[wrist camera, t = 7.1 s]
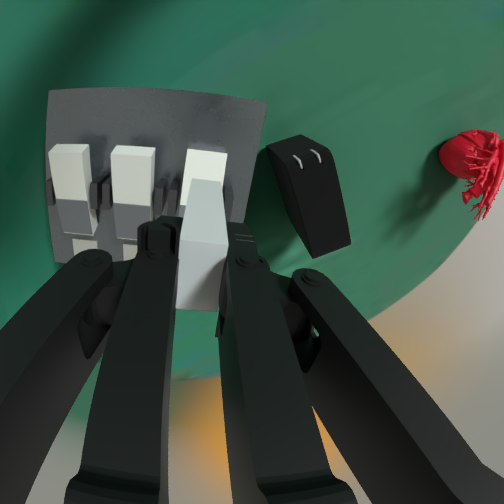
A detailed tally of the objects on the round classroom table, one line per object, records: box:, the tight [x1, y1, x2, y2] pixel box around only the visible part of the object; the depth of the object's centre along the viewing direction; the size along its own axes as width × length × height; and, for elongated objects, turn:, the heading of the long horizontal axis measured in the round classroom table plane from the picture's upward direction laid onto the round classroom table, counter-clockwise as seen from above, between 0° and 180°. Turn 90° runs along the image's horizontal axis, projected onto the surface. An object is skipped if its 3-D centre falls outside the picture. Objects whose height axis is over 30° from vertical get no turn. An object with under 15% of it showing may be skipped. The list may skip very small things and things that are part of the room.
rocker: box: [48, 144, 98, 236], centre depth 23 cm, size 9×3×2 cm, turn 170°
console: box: [46, 87, 267, 263], centre depth 27 cm, size 19×21×9 cm
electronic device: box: [266, 134, 351, 259], centre depth 30 cm, size 4×10×10 cm, turn 19°
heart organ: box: [439, 130, 504, 221], centre depth 29 cm, size 10×12×12 cm
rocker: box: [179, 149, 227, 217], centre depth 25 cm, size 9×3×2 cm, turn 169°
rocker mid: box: [111, 145, 155, 240], centre depth 24 cm, size 9×3×2 cm, turn 170°
